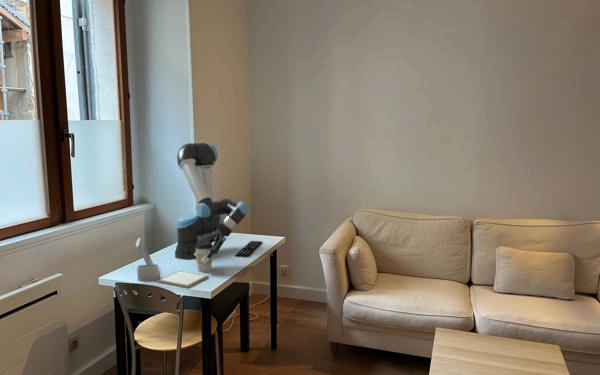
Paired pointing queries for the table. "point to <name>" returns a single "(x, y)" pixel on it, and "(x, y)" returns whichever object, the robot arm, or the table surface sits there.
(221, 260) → the table surface
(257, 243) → the remote control
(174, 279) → the notebook
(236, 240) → the table surface
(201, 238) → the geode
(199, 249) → the coffee cup
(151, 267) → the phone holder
